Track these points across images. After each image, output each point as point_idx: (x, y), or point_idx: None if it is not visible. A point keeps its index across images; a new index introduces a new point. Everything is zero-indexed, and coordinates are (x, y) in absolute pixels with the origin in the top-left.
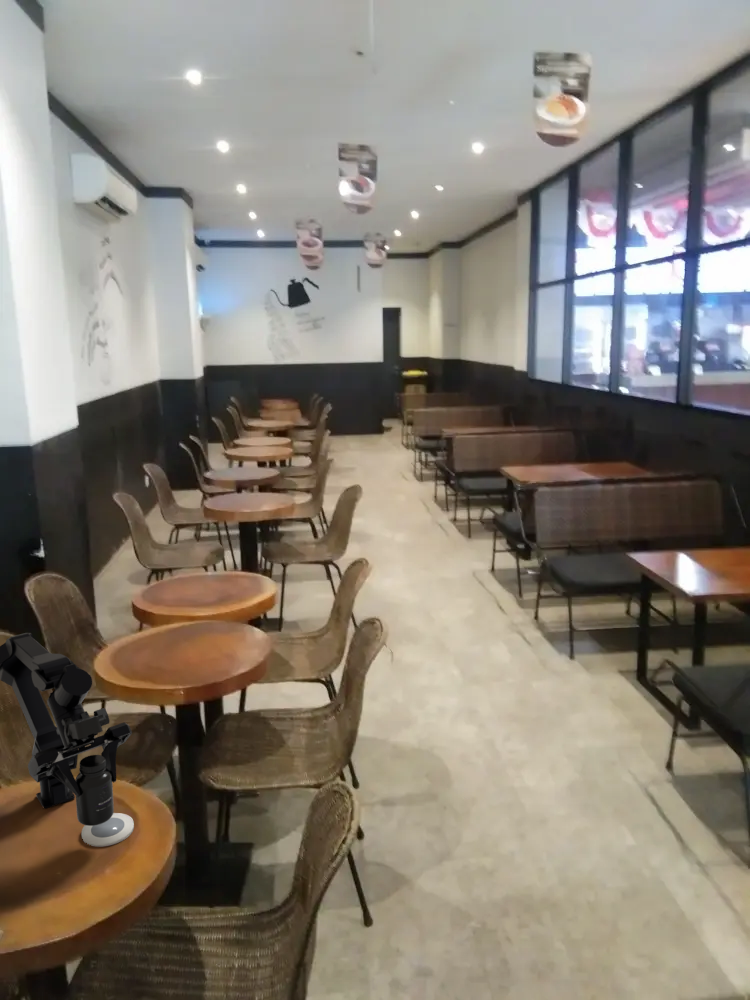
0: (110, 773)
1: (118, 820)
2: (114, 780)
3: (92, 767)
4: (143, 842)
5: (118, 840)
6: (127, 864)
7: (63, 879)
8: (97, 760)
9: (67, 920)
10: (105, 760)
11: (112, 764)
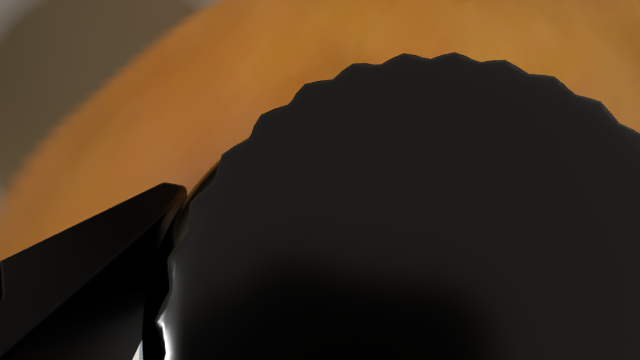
0: (204, 184)
1: None
2: (184, 188)
3: (592, 99)
4: (188, 138)
5: None
6: (323, 78)
7: None
8: (384, 242)
9: (615, 13)
10: (236, 147)
11: (71, 266)
